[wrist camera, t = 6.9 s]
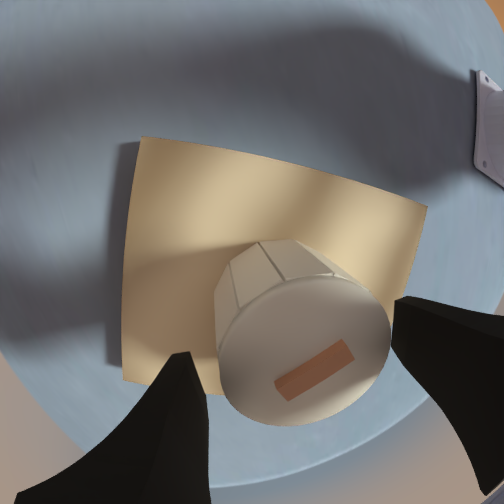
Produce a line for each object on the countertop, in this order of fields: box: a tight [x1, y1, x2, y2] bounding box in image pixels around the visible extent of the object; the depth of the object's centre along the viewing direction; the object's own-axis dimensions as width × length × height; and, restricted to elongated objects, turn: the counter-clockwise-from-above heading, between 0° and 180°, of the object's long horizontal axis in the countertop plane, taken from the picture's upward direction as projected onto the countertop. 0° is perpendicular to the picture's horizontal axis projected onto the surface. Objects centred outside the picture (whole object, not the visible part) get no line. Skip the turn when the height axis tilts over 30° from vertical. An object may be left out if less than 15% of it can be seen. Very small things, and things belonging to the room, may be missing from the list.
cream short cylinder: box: [214, 239, 391, 426], centre depth 10 cm, size 6×6×5 cm
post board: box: [121, 136, 428, 395], centre depth 12 cm, size 14×12×5 cm
